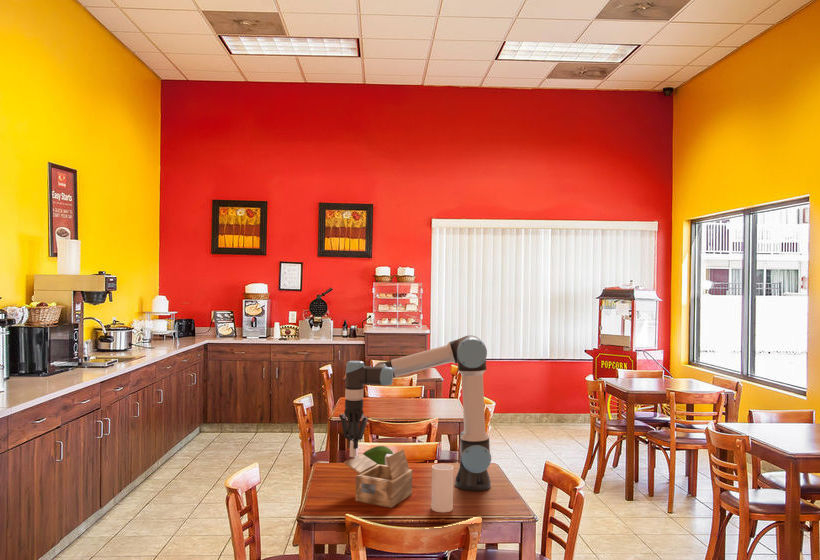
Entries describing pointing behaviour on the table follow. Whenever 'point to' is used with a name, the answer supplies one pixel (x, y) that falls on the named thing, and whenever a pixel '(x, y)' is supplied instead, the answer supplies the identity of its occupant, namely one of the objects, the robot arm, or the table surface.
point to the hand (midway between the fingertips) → (352, 456)
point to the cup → (442, 488)
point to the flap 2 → (397, 463)
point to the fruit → (378, 454)
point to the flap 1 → (360, 463)
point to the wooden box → (383, 486)
